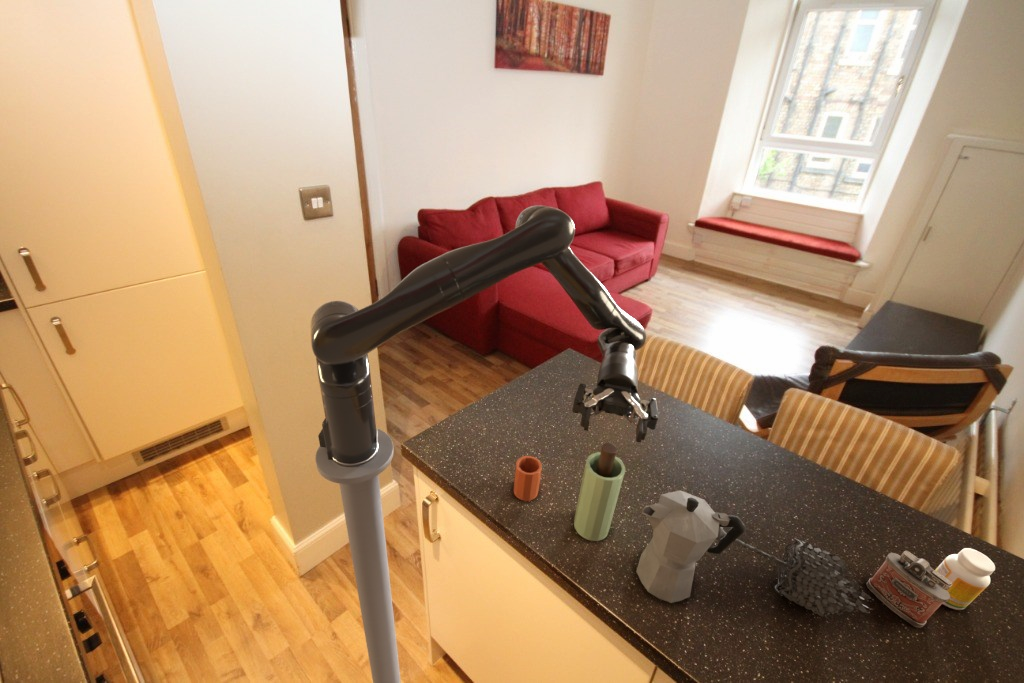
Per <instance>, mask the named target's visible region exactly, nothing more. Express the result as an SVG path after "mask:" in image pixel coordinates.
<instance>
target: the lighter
mask: <svg viewBox="0 0 1024 683" xmlns="http://www.w3.org/2000/svg"><path fill="white" fill-rule="evenodd" d="M951 586H952V583H951V581H949V580H948V579H947V578H945V577H944V576H943V575H941V574H940V573H938V572H937V571H936V569H934V568H933V567H931V565H930V562H929V561H928V560H926V559H925V558H918V557H917V556H915V554H913V553H911V552H910V551H909V550H904V551H903V552H902V553H901V555H900V554H898V553H895V552H889V553H888V554H887V556H886V557H885V560H884V562H883V563H882V565H881V566H880V567H879V568H878V570H877V571H876V572H875V573H874V575H873V576H872V577H869V578H868V580H867V582H866V587H867V588H868V589H869V591H870V592H871V593H872V594H873V595H874V596H875V597H876V598H877V599H878V600H879V601H881V602H882V603H883V604H884V605H885V606H886V607H887V608H889V609H890V610H891V611H892V612H893V613H894V614H896V615H898V616H899V617H900V618H901V619H903V620H904V621H906V622H907V623H909V624H910V625H911V626H913V627H915V628H921V629H922V628H923V627H924V626H925V625H926V624H927V620H928V619H929V618H930V617H931V616H932V615H933V614H934V613H935V612H936V611H937V610H938V609H939V608H940V607H941V606H942V605H943V604H942V603H943V602H944V603H945V602H947V601H948V600H949V598H950V594H949V593H948V591H947V590H948V589H949V588H950V587H951Z"/></svg>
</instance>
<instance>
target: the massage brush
mask: <svg viewBox="0 0 1024 683" xmlns="http://www.w3.org/2000/svg"><path fill="white" fill-rule="evenodd" d="M727 533H728V532H726V531H725V529H724V527H719V530H718V537H717V538H716V539H715V541H716V540H720V539H721V538H723V537H724V536H725V535H726V534H727ZM792 538H793V542H789V543H787V544H786V545H785V546H784V547H785V548H784V555H783V556H782V560H780V559H778V558H777V557H776V556H775V555H770V554H769V553H766V552H764V551H762V550H761V549H758V547H754V546H753V545H750V544H748V543H745V542H743V541H742V540H740V539H739V538H737V539H736V540H735V541H734V542H733V543H736V544H737V545H739V546H740V547H743V548H745V549H748V550H749V551H751V552H754V553H755V554H757V555H759V556H761V557H763V558H764V559H768V560H770V561H773V562H774V563H775V564H776V565H778V566H777V575H778V576H777V584H775V585H774V590H775V591H776V592H777V593H778V594H780V595H781V596H783V597H784V598H786V599H788V601H790V602H794V603H795V604H796V605H799V606H801V607H804V608H805V609H806V610H809V611H810V612H811V611H812V613H814V614H816V615H818V616H820V617H821V618H826V619H827V620H828V619H829V617H828V616H829V615H830V614H832V615H834V614H836V615H838V616H839V615H842V614H843V613H844V612H848V613H851V612H853V613H854V614H855V613H856V612H858V611H861V612H862V613H868V614H871V612H870V611H868V610H867V609H870V610H871V611H873V608H872V607H871V608H870V607H869V606H867V605H865V604H863V602H862V601H866V602H867V603H868V602H870V601H869V600H870V599H871V600H872V601H875V599H874V598H872V597H871V596H870V595H869V594H867V593H866V592H865V591H864V590H863V586H860V584H859V583H858V582H856V581H855V579H854V575H853V572H851V571H849V569H848V567H849V564H848V563H847V562H845V560H844V559H841V558H840V557H839V556H838V555H836V554H832V553H830V552H829V551H827V550H824V549H821V548H820V547H818V546H814V545H812V544H811V543H809V542H806V541H805V540H802V539H798V538H795V537H792ZM795 545H796V546H795ZM789 549H790V550H789ZM845 565H846V566H845ZM848 574H850V575H851V577H852V578H851V577H850V576H849V575H848ZM850 579H851V580H850ZM779 586H781V587H779ZM778 588H779V589H778ZM860 588H861V589H860ZM847 594H849V595H852V597H853V598H856V599H857V600H855V599H853V598H852V597H849V595H847ZM858 598H859V599H858ZM860 599H861V600H862V601H861V600H860ZM854 602H855V603H854ZM866 608H867V609H866ZM840 610H843V611H841V612H840ZM828 612H829V613H828Z"/></svg>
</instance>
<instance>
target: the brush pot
mask: <svg viewBox="0 0 1024 683" xmlns="http://www.w3.org/2000/svg"><path fill="white" fill-rule="evenodd" d="M542 466H543V465H542V462H541V461H540V460H539V459H538V458H537V457H535V456H533V455H524V456H520V457H519V458H518V459H517V461H516V462H515V471H514V480H513V494H514V496H515V497H516V498H517V499H519V500H521V501H523V502H529V501H532V500H534V499H536V498H537V496H538V494H539V491H540V490H539V489H540V483H541V476H542V469H543V468H542Z"/></svg>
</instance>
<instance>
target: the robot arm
mask: <svg viewBox="0 0 1024 683" xmlns="http://www.w3.org/2000/svg"><path fill="white" fill-rule="evenodd" d="M575 234H576V228H575V223H574V221H573V219H572V218H571V216H569V214H567V213H566V212H564V211H563V210H561V209H559V208H556V207H553V206H547V205H541V204H539V205H531V206H529V207H526V208H525V209H523V210H522V211H521V212H520V214H519V215H518V217H517V219H516V221H515V227H514V229H511V230H510V231H508V232H506V233H505V234H502V235H500V236H498V237H496V238H492V239H489V240H487V241H481V242H478V243H472V244H470V245H466V246H462V247H458V248H455V249H451V250H450V251H447V252H445V253H442V254H441V255H439V256H437V257H435V258H432V259H430V260H428V261H427V262H424V263H422V264H420V265H419V266H417V267H416V268H415V269H413V270H412V271H411V272H409V273H408V274H407V275H406V276H405V277H404V278H403V279H402V280H401V281H399V282H398V283H397V284H396V285H395V286H394V287H393V288H392V289H391V290H390V291H389V292H388V293H387V294H385V295H384V296H383V297H381V298H380V299H378V300H376V301H375V302H373V303H372V304H369V305H367V306H365V307H363V308H361V309H358V308H357V307H356V306H355V305H353V304H351V303H349V302H347V301H343V300H332V301H327V302H325V303H323V304H322V305H319V307H318V308H317V309H316V310H315V311H314V313H313V314H312V316H311V319H310V343H311V350H312V352H313V355H314V356H315V361H316V371H317V379H318V383H319V384H318V385H319V390H320V394H321V395H320V396H321V400H322V405H323V411H324V412H323V413H324V417H325V418H324V419H323V420H322V423H321V427H322V429H321V430H320V432H319V433H318V435H317V437H318V442H319V447H326V450H327V455H328V460H333V461H334V462H335V463H337V464H338V465H341V466H345V467H355V466H360V465H363V464H365V463H367V462H369V461H370V460H372V459H373V458H374V457H375V456H376V454H377V452H378V441H377V437H378V432H377V433H376V428H377V423H376V415H375V404H374V396H373V394H374V393H373V386H372V376H371V368H370V362H369V361H370V360H369V354H370V353H371V352H373V351H374V350H376V349H377V348H378V347H380V346H382V345H383V344H384V343H386V342H388V341H390V340H391V339H393V338H394V337H396V336H398V335H399V334H401V333H403V332H404V331H405V332H406V331H407V330H409V329H410V328H412V327H415V326H416V325H419V324H421V323H423V322H425V321H426V320H428V319H430V318H432V317H434V316H436V315H438V314H441V313H442V312H444V311H446V310H448V309H451V308H453V307H455V306H457V305H458V304H461V303H462V302H464V301H466V300H468V299H470V298H472V297H474V296H476V295H477V294H479V293H481V292H483V291H485V290H486V289H489V288H491V287H492V286H495V285H496V284H498V283H500V282H502V281H503V280H504V279H507V278H509V277H510V276H513V275H515V274H517V273H519V272H521V271H524V270H526V269H529V268H531V267H533V266H536V265H539V264H542V266H544V267H545V269H546V270H547V271H548V272H549V273H550V274H551V275H552V276H553V278H554V279H555V280H556V281H557V282H558V284H559V285H560V286H561V287H562V288H563V290H564V292H565V293H566V294H567V296H568V297H569V298H570V299H571V301H572V302H573V304H574V305H575V306H576V307H577V309H578V311H579V312H580V313H581V315H583V318H584V319H585V320H586V321H587V322H588V324H589V325H590V326H591V327H592V328H593V329H594V330H597V331H598V330H599V331H601V332H600V333H599V334H598V336H597V338H596V342H597V346H598V348H599V350H600V352H601V356H602V358H601V363H600V365H599V369H598V374H597V381H596V385H595V388H594V389H592V388H591V389H590V388H586V387H587V385H586V384H585V383H579V384H578V388H577V390H576V394H575V396H574V399H573V404H572V405H573V406H572V412H573V413H574V414H581V417H580V418H581V419H580V427H582V428H583V431H586V432H589V427H590V421H591V417H592V416H593V415H595V416H598V415H599V414H602V413H603V412H604V413H605V414H610V415H611V414H613V415H616V416H619V417H624V418H625V419H626V421H628V422H629V423H630V424H632V423H633V424H634V426H636V429H635V443H636V442H637V443H642V441H645V440H646V437H647V433H648V429H650V430H656V428H657V423H658V420H659V417H660V416H659V408H658V402H657V399H656V398H655V397H649V399H648V400H647V399H646V400H645V399H641V398H640V396H639V370H638V354H637V351H638V350H640V349H642V348H643V347H644V346H645V345H646V342H647V333H646V331H645V328H644V327H643V325H641V323H640V322H639V321H638V320H637V319H636V318H634V317H632V316H631V315H629V314H628V312H626V311H625V310H623V309H622V308H621V307H620V306H619V305H618V304H617V303H616V301H615V300H614V298H613V297H612V296H611V294H610V293H609V291H608V290H607V288H606V287H605V286H604V285H603V283H601V281H600V280H599V279H598V278H597V277H596V276H595V275H594V274H593V273H592V272H591V271H590V270H589V269H588V268H587V267H586V266H585V265H584V264H583V263H582V261H580V259H579V258H578V257H577V256H576V254H575V253H574V252H573V250H572V249H571V248H570V246H571V244H572V243H573V241H574V237H575ZM588 398H591V399H590V400H587V399H588ZM586 400H587V401H586Z"/></svg>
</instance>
